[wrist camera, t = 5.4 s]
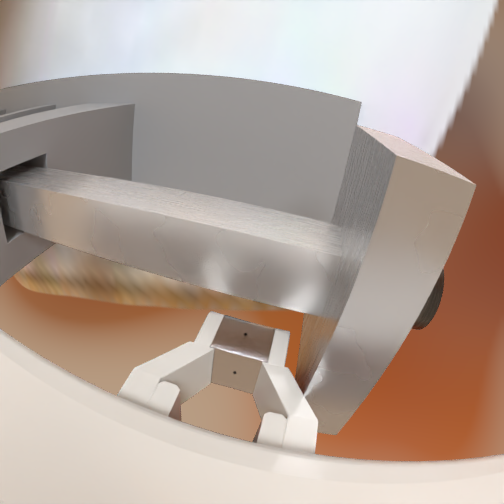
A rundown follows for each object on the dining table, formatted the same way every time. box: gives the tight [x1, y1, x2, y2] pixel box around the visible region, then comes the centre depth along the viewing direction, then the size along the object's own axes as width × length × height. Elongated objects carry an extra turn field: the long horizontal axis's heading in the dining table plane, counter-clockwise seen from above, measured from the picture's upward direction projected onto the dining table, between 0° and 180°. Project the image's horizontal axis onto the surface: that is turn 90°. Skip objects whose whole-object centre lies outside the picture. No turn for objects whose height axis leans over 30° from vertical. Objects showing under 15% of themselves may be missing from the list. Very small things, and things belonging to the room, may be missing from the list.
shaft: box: [0, 125, 476, 435], centre depth 10 cm, size 8×28×6 cm, turn 81°
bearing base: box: [0, 73, 362, 286], centre depth 13 cm, size 10×30×14 cm, turn 81°
